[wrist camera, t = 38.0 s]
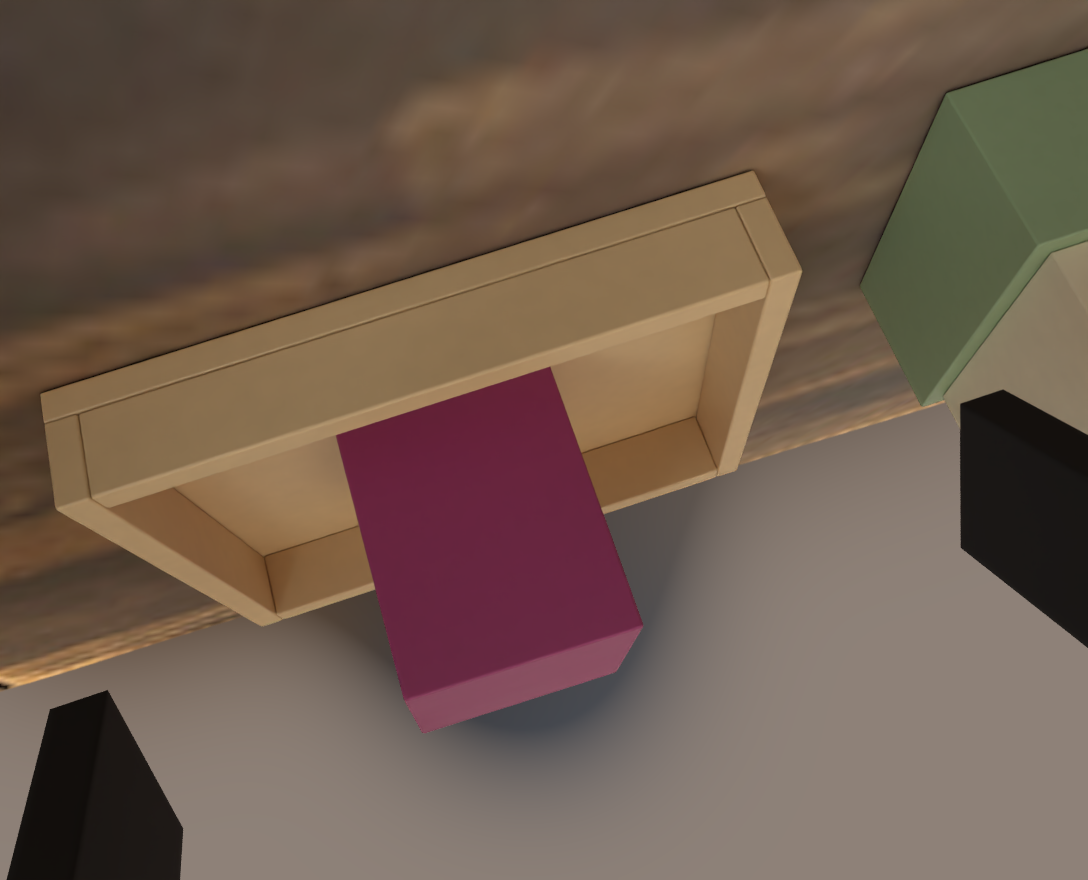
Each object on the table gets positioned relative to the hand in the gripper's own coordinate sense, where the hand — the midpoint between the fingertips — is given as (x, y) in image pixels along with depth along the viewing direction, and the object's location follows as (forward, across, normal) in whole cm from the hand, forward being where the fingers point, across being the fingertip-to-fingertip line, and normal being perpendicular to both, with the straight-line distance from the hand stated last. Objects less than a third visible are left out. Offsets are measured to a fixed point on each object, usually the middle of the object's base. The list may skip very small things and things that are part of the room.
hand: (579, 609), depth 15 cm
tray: (+15, 0, -3) cm, 16 cm away
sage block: (+12, +18, 0) cm, 21 cm away
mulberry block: (+15, 0, -4) cm, 15 cm away
